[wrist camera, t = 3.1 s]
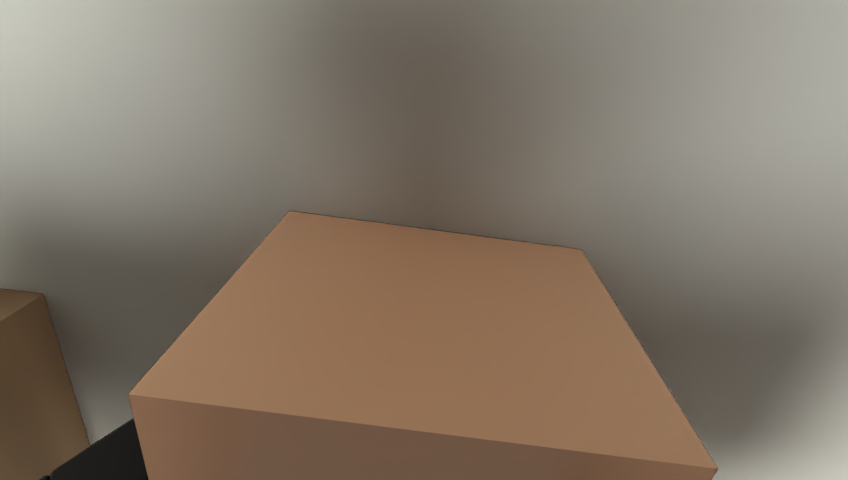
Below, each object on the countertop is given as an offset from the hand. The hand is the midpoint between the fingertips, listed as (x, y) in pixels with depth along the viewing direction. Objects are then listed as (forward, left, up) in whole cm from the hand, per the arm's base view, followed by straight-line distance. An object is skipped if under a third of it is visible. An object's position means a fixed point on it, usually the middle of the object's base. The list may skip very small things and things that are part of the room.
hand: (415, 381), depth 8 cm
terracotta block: (0, 0, -1) cm, 1 cm away
